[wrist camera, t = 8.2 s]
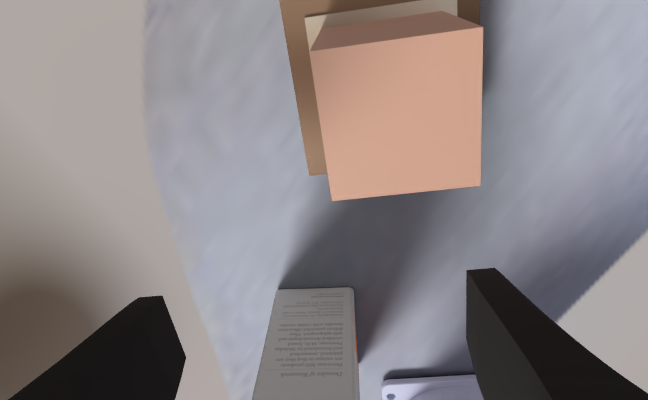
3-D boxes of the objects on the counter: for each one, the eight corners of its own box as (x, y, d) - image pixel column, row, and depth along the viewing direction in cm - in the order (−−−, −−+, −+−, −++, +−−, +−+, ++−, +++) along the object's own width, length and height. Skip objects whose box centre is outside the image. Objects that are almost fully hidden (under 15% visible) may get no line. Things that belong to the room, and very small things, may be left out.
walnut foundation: (463, 135, 19) (478, 157, 17) (313, 153, 20) (309, 176, 17) (462, -34, 16) (481, -35, 14) (288, -7, 17) (278, -3, 14)
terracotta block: (444, 127, 16) (480, 185, 12) (336, 140, 17) (331, 201, 12) (442, 10, 14) (483, 26, 10) (321, 28, 15) (309, 51, 10)
